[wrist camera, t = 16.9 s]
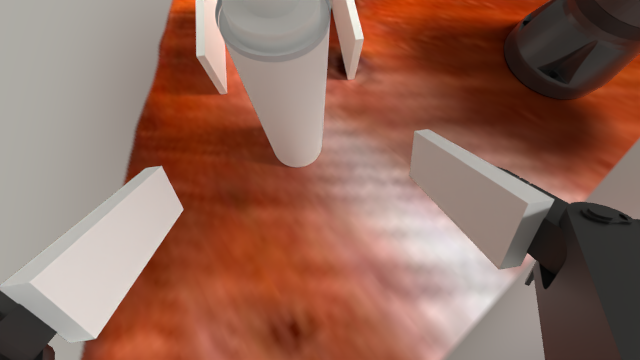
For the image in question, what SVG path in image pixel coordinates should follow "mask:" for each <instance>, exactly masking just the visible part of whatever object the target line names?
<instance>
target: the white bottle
mask: <svg viewBox="0 0 640 360" xmlns="http://www.w3.org/2000/svg"><path fill="white" fill-rule="evenodd" d="M325 1H326V2H325ZM325 1H324V0H218V1H217V4H216V8H215V19H216V23H217V26H218V28H220V29H219V31H220V33H221V35H222V37H223V40H224V42H225V44H226V46H227V49H228V51H229V53H230V55H231V58H232V60H233V62H234V64H235V67H236V69H237V71H238V73H239V76H240V78H241V80H242V82H243V85H244V87H245V89H246V91H247V93H248V96H249V98H250V100H251V102H252V104H253V107H254V109H255V111H256V113H257V115H258V118H259V120H260V122H261V124H262V127H263V129H264V131H265V133H266V135H267V138H268V140H269V142H270V144H271V146H272V149H273V151H274V153H275V155H276V157H277V158H278V159H279V160H280V161H281V162H282V163H283V164H285V165H287V166H290V167H304V166H307V165H309V164H311V163H312V162H314V161H315V160H316V159H317V157H318V156H319V154H320V152H321V149H322V137H323V123H324V108H325V94H326V79H327V63H328V47H329V31H330V15H331V8H330V2H329V0H325ZM326 3H327V4H326ZM327 5H328V7H327ZM221 6H222V8H221ZM328 8H329V10H328ZM220 9H221V10H220ZM219 11H220V14H219ZM329 12H330V14H329ZM218 17H219V25H218Z"/></svg>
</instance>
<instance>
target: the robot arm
mask: <svg viewBox="0 0 640 360" xmlns="http://www.w3.org/2000/svg"><path fill="white" fill-rule="evenodd" d="M639 53H640V0H550V1H548V2H547V3H545V4H544V5H542V6H541V7H539V8H538V9H536V10H535V11H533V12H532V13H530V14H529V15H527V16H526V17H525V18H524V19H522V20H521V21H520V22H519V23H518V25H517V26H516V27H515V28H514V29H513V30H512V31H511V32H510V33H509V35H508V36H507V38H506V40H505V44H504V54H505V58H506V61H507V64H508V66H509V67H510V69H511V71H512V72H513V73H514V75H515V76H516V77H517V78H518V79H519V80H520V81H521V82H522V83H524V84H525V85H526V86H528V87H529V88H531V89H532V90H534V91H536V92H538V93H540V94H543V95H545V96H548V97H552V98H557V99H576V98H580V97H583V96H585V95H587V94H589V93H591V92H593V91H594V90H596V89H598V88H600V87H602V86H603V85H605V84H606V83H608V82H609V81H610V80H611V79H612V78H613V77H614V76H616V75H617V74H618V73H619V72H620V71H621V70H622V69H623V68H624V67H625V66H626V65H628V64H629V63H630V62H631V61H632V60H633V59H634V58H635V57H636V56H637V55H638V54H639ZM409 176H410V177H411V178H412V179H413V180H414V182H415V183H416V184H417V185H418V186H419V187H420V188H421V189H422V190H423V191H424V192H425V193H426V194H427V195H428V196H429V197H430V198H431V199H432V200H433V201H434V202H435V203H436V204H437V205H438V207H439V208H440V209H441V210H442V211H443V212H444V213H445V214H446V215H447V216H448V217H449V218H450V219H451V220H452V221H453V222H454V223H455V224H456V225H457V226H458V227H459V228H460V229H461V231H462V232H463V233H464V234H465V235H466V236H467V237H468V238H469V239H470V240H471V241H472V242H473V243H474V244H475V245H476V246H477V247H478V248H479V249H480V250H481V251H482V252H483V253H484V254H485V256H486V257H487V258H488V259H489V260H490V261H491V262H492V263H493V264H494V265H495V266H496V267H497V268H498V269H505V268H511V267H517V266H521V264H522V262H523V260H524V258H525V256H526V254H527V253H528V254H529V255H531V256H532V257H533V258H534V259H535V260H537V261H536V262H535V264H534V266H533V268H532V270H531V271H530V273H529V275H528V277H527V279H526V281H525V284H526V285H528V286H529V285H530V283H531V281H533V280H535V288H536V295H537V302H538V310H539V317H540V324H541V332H542V339H543V347H544V354H545V360H640V220H638V219H632V218H631V217H629V216H628V215H626V214H624V213H622V212H620V211H618V210H615V209H612V208H610V207H607V206H603V205H599V204H594V203H587V202H574V203H571V204H569V203H567V202H565V201H563V200H561V199H559V198H558V197H556V196H554V195H552V194H550V193H548V192H547V191H545V190H543V189H541V188H539V187H537V186H536V185H534V184H530V183H529V182H528V181H526V180H524V179H523V178H519V176H517V175H515V174H513V173H512V172H510V171H508V170H505V169H502V168H499V167H496V166H494V165H492V164H490V163H488V162H486V161H485V160H483V159H481V158H479V157H478V156H476V155H474V154H472V153H470V152H469V151H467V150H465V149H463V148H461V147H460V146H458V145H456V144H454V143H452V142H451V141H449V140H447V139H445V138H443V137H442V136H440V135H438V134H436V133H434V132H433V131H431V130H429V129H425V130H418V131H414V139H413V148H412V156H411V165H410V174H409ZM183 210H184V209H183V207H182V205H181V203H180V201H179V199H178V197H177V195H176V193H175V191H174V189H173V187H172V186H171V184H170V182H169V180H168V178H167V176H166V174H165V172H164V170H163V168H162V166H157V167H150V168H145V169H144V170H143V171H142V172H140V173H139V174H138V175H137V176H135V177H134V178H133V179H132V180H130V181H129V182H128V183H127V184H125V185H124V186H123V187H122V188H120V189H119V190H118V191H117V192H115V193H114V194H113V195H112V196H110V197H109V198H108V199H107V200H105V201H104V202H103V203H102V204H100V205H99V206H98V207H97V208H96V209H94V210H93V211H92V212H90V213H89V214H88V215H87V216H85V217H84V218H83V219H82V220H81V221H79V222H78V223H77V224H75V225H74V226H73V227H72V228H70V229H69V230H68V231H67V232H65V233H64V234H63V235H62V236H60V237H59V238H58V239H57V240H56V241H54V242H53V243H52V244H51V245H49V246H48V247H47V248H46V249H44V250H43V251H42V252H41V253H39V254H38V255H37V256H36V257H34V258H33V259H32V260H31V261H29V262H28V263H27V264H26V265H24V266H23V267H22V268H21V269H19V271H17V272H16V273H14V274H13V275H12V276H11V277H9V278H8V279H7V280H6V281H4V282H3V283H2V284H1V285H0V360H55V352H54V350H53V348H52V347H51V346H49V345H48V343H49V341H50V340H51V339H52V338H53V337H54V335H55V334H56V333H57V334H59V335H60V336H61V337H63V338H64V339H65V340H66V341H68V342H69V343H74V342H80V341H86V340H92V339H96V338H97V336H98V335H99V333H100V332H101V331H102V329H103V328H104V326H105V325H106V323H107V322H108V320H109V319H110V317H111V316H112V314H113V313H114V311H115V310H116V308H117V307H118V305H119V304H120V303H121V301H122V300H123V298H124V297H125V295H126V294H127V292H128V291H129V289H130V288H131V286H132V285H133V283H134V282H135V280H136V279H137V277H138V276H139V275H140V273H141V272H142V270H143V269H144V267H145V266H146V264H147V263H148V261H149V260H150V258H151V257H152V255H153V254H154V252H155V251H156V249H157V248H158V247H159V245H160V244H161V242H162V241H163V239H164V238H165V236H166V235H167V233H168V232H169V230H170V229H171V227H172V226H173V224H174V223H175V221H176V220H177V219H178V217H179V216H180V214H181V213H182V211H183Z"/></svg>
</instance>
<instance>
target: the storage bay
mask: <svg viewBox="0 0 640 360" xmlns="http://www.w3.org/2000/svg"><path fill="white" fill-rule="evenodd" d="M217 1H218V0H196V57H197V58H198V60H199V61H200V63H201V65H202V66H203V68H204V69H205V71H206V72H207V74H208V76H209V77H210V79H211V80H212V82H213V84H214V85H215V87H216V88H217V90H218V91H219V93H220V94H227V76H226V56H225V42H224V40H223V37H222V35H221V33H220V31H219V29H220V28H218V26H217V23H216V19H215V8H216V4H217ZM324 1H325V0H324ZM325 2H326V1H325ZM329 2H330V8H332V11H333V15H334V20H335V24H336V29H337V33H338V38H339V42H340V47H341V52H342V56H343V61H344V65H345V70H346V74H347V79H348V80H351V79H354V78H355V74H356V70H357V65H358V61H359V57H360V53H361V49H362V44H363V40H364V38H363V34H362V30H361V26H360V22H359V18H358V14H357V10H356V7H355V3H354V0H329ZM326 4H327V3H326ZM327 7H328V5H327ZM221 8H222V6H221ZM220 10H221V9H220ZM219 14H220V11H219ZM218 25H219V17H218Z"/></svg>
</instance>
